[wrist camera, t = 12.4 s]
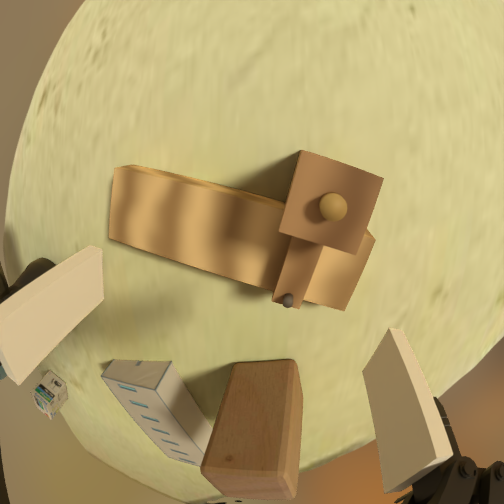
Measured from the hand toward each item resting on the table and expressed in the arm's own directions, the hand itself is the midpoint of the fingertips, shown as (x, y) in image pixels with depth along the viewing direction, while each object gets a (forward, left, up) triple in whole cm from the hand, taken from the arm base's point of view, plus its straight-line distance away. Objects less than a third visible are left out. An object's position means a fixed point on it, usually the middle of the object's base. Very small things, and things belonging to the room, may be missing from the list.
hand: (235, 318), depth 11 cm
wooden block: (+7, -27, -22) cm, 35 cm away
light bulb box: (-46, -65, -22) cm, 82 cm away
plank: (-4, -4, -22) cm, 22 cm away
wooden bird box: (+4, 0, -22) cm, 22 cm away
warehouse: (-9, -46, -22) cm, 52 cm away
